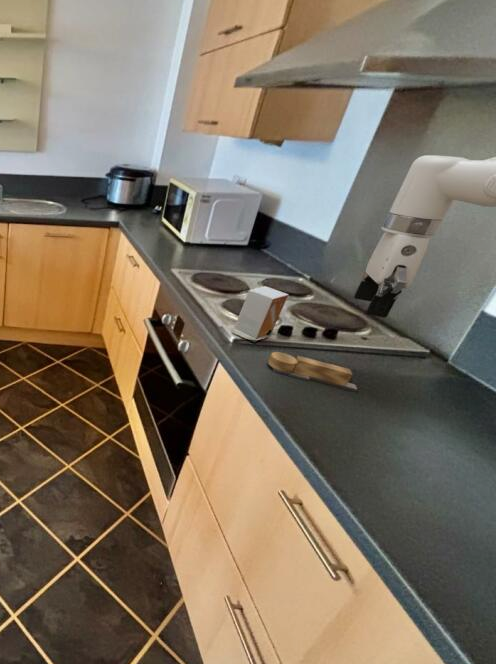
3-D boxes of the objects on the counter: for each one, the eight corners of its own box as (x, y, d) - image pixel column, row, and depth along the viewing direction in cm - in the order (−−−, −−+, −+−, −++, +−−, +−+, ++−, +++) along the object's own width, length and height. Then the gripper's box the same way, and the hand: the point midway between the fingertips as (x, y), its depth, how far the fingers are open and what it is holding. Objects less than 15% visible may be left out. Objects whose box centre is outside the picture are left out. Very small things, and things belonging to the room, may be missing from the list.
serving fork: (352, 384, 94) (354, 381, 94) (357, 395, 90) (359, 392, 90) (271, 362, 100) (272, 359, 100) (272, 371, 97) (274, 368, 96)
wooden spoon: (342, 378, 95) (348, 366, 93) (347, 389, 91) (354, 377, 89) (267, 358, 101) (272, 346, 99) (268, 367, 97) (273, 356, 95)
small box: (254, 344, 109) (273, 298, 103) (231, 333, 113) (248, 289, 107) (270, 338, 113) (289, 294, 107) (247, 327, 117) (264, 285, 111)
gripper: (456, 238, 70) (406, 327, 78) (419, 220, 84) (379, 298, 91) (400, 230, 73) (356, 317, 81) (372, 215, 87) (337, 290, 95)
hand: (368, 307), depth 86 cm, fingers open, 9 cm apart
